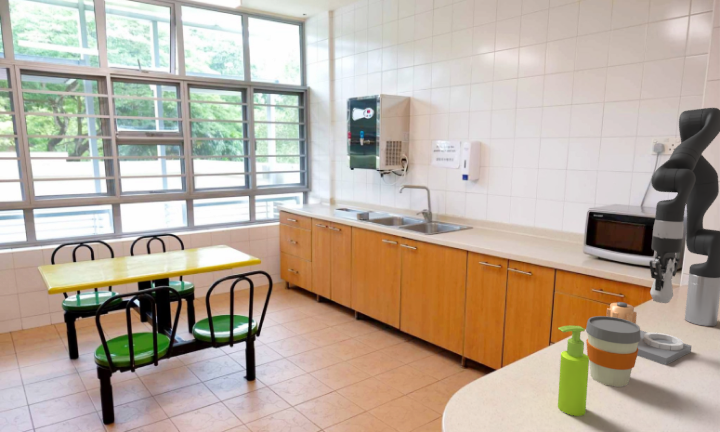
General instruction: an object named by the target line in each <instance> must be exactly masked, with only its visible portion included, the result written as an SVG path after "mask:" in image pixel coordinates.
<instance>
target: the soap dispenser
mask: <svg viewBox="0 0 720 432" xmlns="http://www.w3.org/2000/svg"><path fill="white" fill-rule="evenodd" d="M557 329H558V330H559V331H560V332H562V333H568V332H571V338H568V339H567V345H566V350H562V351H561V353H560V360H559V361H560V362H559V363H560V364H559V365H560V366H559V378H558V379H559V381H558V397H557V408H558V409H559V411H560V412H562V411H563V412H562V413H564V412H565V413H564V414H566V413H567V414H566V415H569V414H570V415H569V416H573V415H574V416H573V417H581V416H584V415H585V414H586V412H587V409H586V408H587V396H588V383H589V382H588V380H589V369H590V360H589V357H588V356H587V354H586V353H584V348H585V347H584V346H585V343H584V340H582V339H581V332H586V328H584V327H582V326H580V325H563V326H559V327H557Z"/></svg>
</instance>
